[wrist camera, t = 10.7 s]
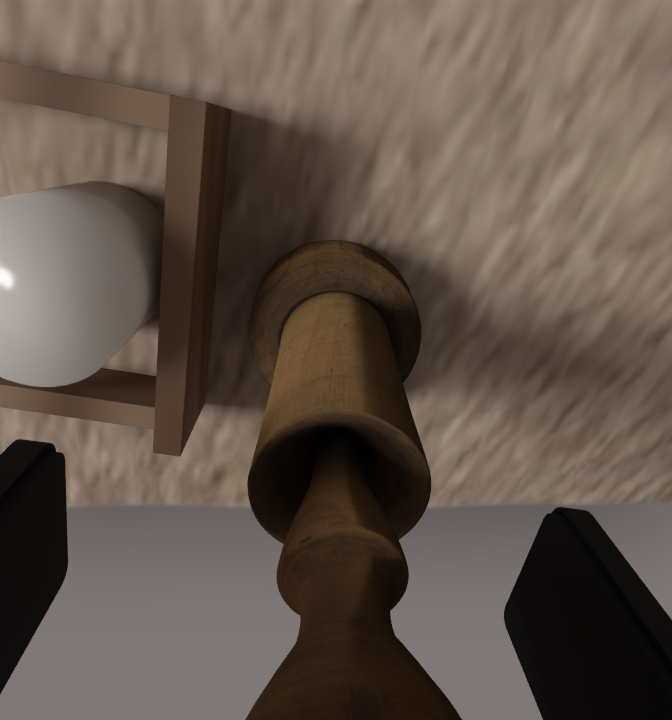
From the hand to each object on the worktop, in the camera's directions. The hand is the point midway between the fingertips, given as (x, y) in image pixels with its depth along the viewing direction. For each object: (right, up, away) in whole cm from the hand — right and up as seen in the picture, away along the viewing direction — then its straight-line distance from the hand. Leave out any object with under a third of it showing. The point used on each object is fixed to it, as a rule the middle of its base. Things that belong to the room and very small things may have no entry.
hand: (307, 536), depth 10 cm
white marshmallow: (-8, +8, +10) cm, 15 cm away
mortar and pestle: (0, +5, +11) cm, 12 cm away
